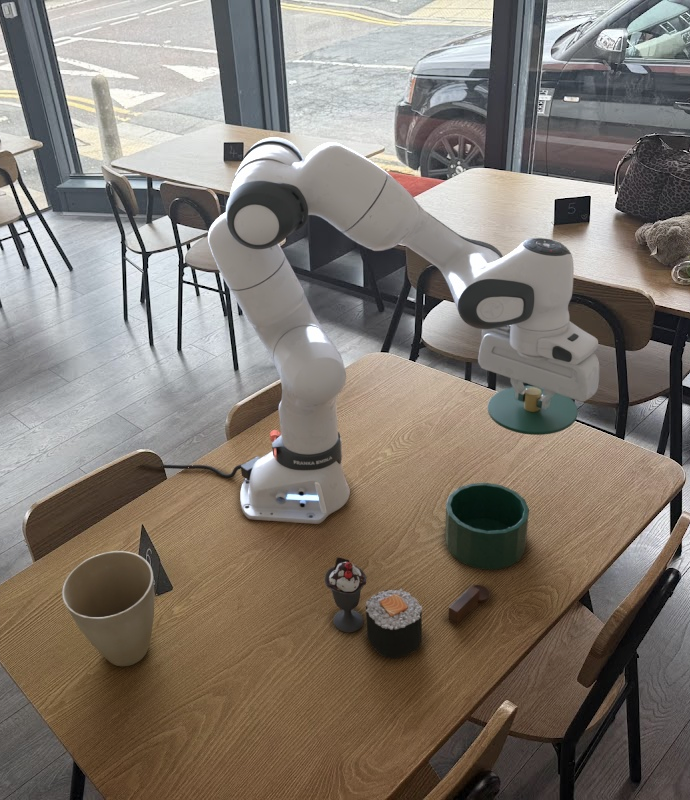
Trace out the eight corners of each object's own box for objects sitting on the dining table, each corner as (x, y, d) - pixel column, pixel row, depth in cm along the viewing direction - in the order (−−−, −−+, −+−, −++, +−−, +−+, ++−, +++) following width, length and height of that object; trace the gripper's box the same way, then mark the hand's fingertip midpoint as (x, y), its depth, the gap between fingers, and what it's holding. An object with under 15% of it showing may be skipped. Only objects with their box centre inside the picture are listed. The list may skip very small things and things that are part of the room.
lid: (498, 440, 134) (499, 418, 131) (479, 394, 146) (480, 373, 144) (588, 434, 132) (592, 411, 129) (562, 387, 144) (564, 365, 141)
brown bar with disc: (461, 627, 128) (462, 615, 127) (443, 617, 131) (443, 604, 129) (493, 595, 133) (494, 583, 131) (475, 585, 135) (476, 573, 134)
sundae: (359, 642, 129) (356, 576, 121) (322, 628, 132) (316, 564, 124) (374, 613, 133) (372, 548, 125) (337, 601, 137) (333, 537, 129)
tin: (453, 571, 139) (455, 535, 134) (439, 519, 150) (440, 485, 146) (534, 567, 137) (538, 531, 132) (513, 515, 148) (516, 480, 144)
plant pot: (178, 618, 139) (163, 552, 130) (156, 689, 127) (137, 622, 118) (100, 612, 143) (80, 548, 134) (71, 680, 131) (47, 614, 122)
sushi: (358, 631, 131) (356, 597, 127) (401, 612, 133) (401, 578, 129) (386, 666, 124) (385, 632, 120) (430, 645, 126) (431, 611, 122)
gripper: (472, 325, 136) (469, 392, 143) (588, 359, 122) (579, 431, 129) (493, 311, 139) (489, 377, 146) (608, 342, 125) (598, 414, 132)
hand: (532, 403), depth 138 cm, fingers closed on lid, 2 cm apart
